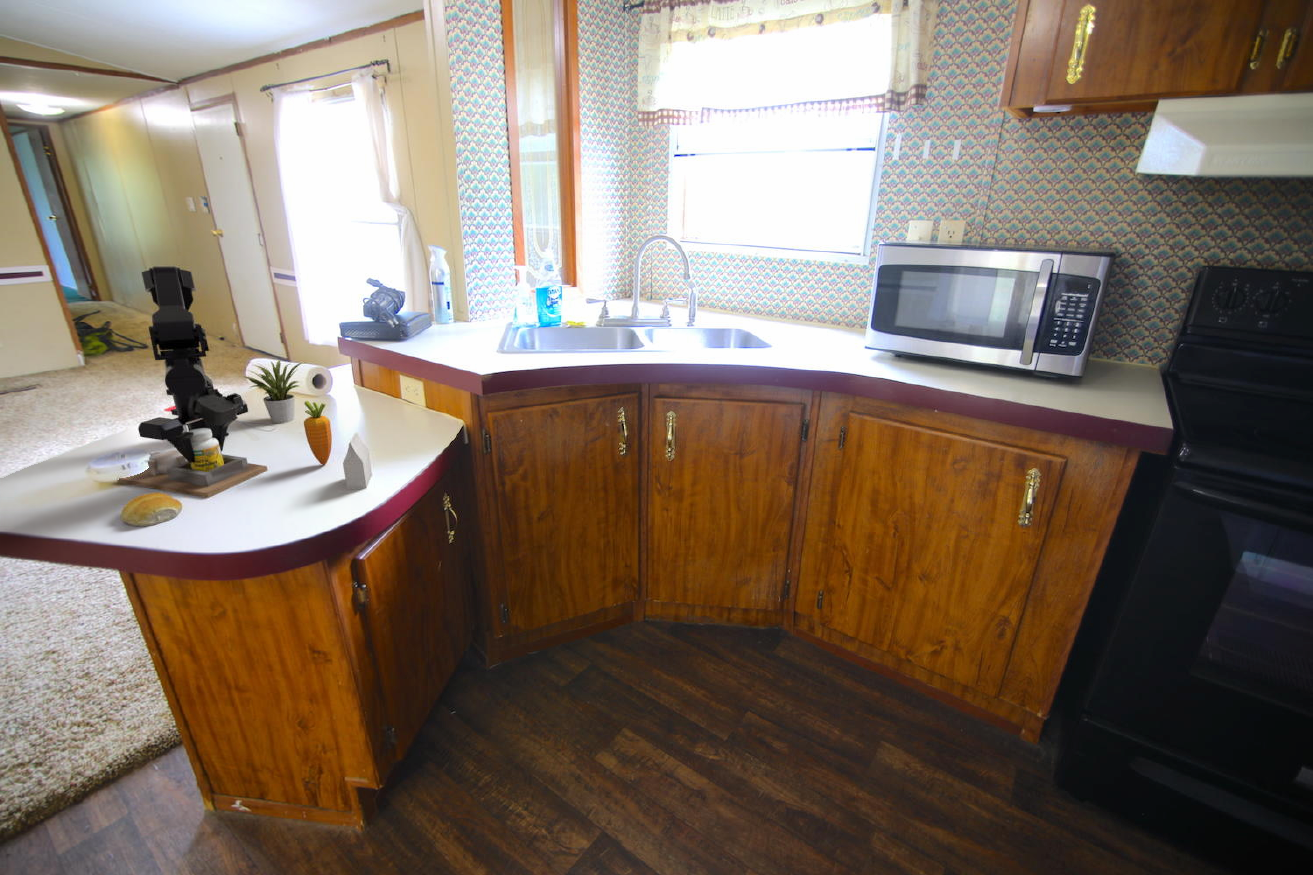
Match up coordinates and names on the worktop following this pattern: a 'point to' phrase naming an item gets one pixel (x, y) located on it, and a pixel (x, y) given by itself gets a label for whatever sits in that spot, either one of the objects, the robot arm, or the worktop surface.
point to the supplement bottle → (205, 450)
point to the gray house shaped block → (357, 464)
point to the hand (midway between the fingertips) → (206, 456)
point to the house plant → (277, 393)
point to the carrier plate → (192, 474)
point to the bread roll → (150, 509)
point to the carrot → (318, 432)
